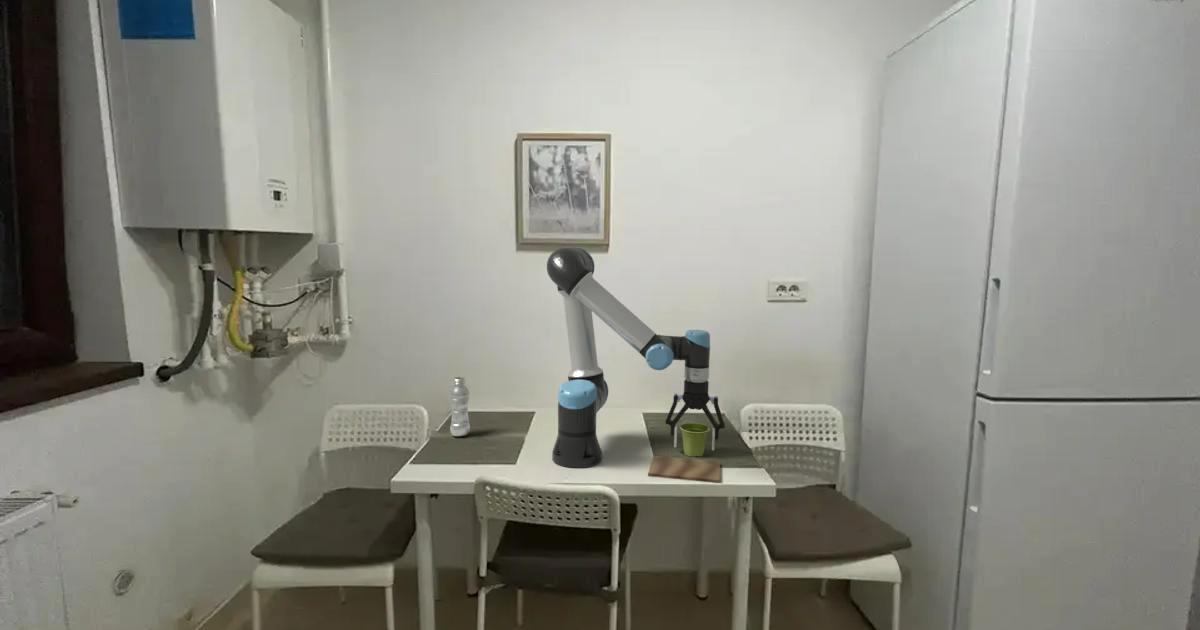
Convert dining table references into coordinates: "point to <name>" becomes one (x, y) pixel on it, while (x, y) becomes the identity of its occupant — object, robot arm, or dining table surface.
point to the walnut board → (685, 469)
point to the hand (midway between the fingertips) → (694, 447)
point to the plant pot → (694, 438)
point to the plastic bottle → (459, 408)
